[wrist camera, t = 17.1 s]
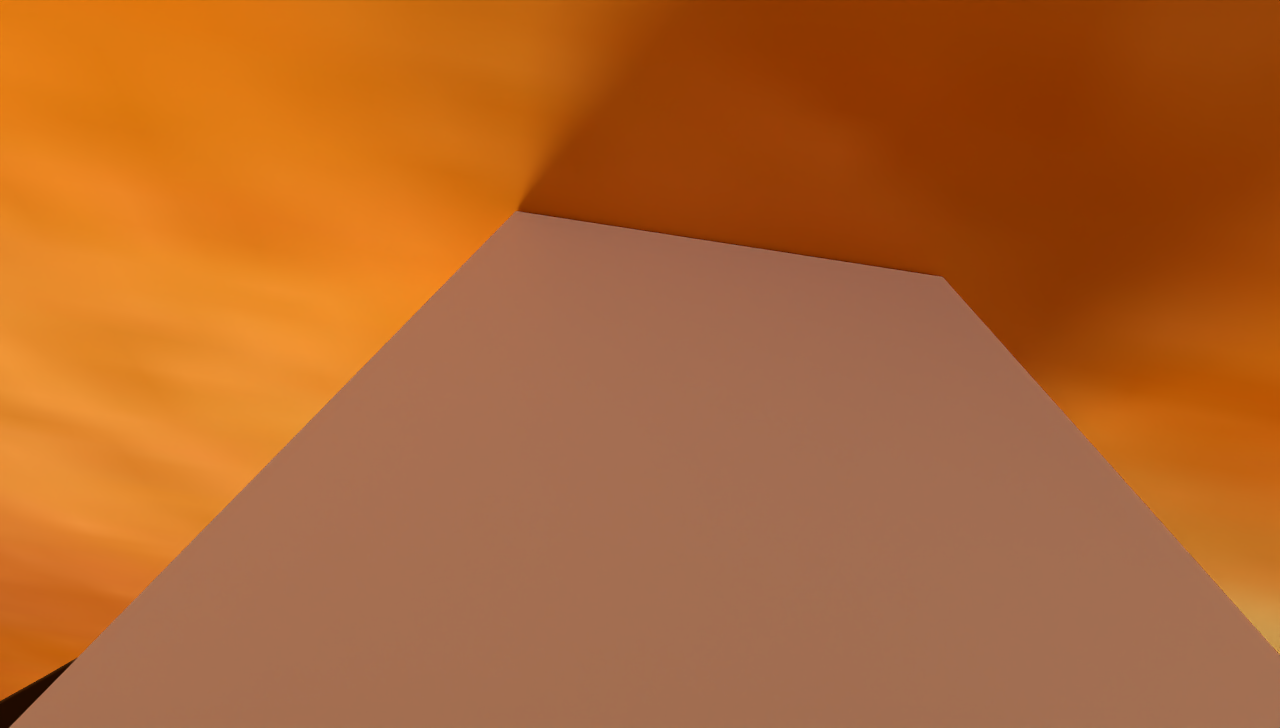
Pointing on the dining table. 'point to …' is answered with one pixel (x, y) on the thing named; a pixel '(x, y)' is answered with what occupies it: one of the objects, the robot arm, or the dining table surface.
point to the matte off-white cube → (680, 525)
